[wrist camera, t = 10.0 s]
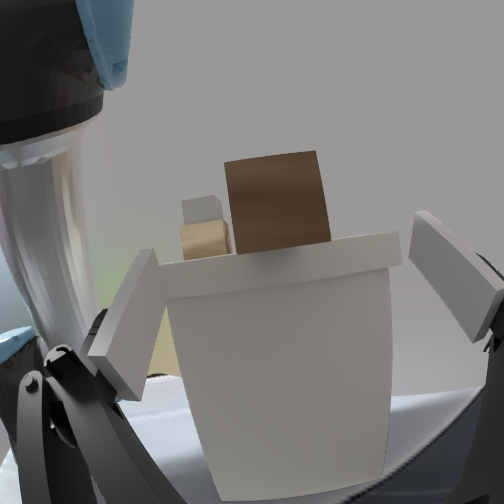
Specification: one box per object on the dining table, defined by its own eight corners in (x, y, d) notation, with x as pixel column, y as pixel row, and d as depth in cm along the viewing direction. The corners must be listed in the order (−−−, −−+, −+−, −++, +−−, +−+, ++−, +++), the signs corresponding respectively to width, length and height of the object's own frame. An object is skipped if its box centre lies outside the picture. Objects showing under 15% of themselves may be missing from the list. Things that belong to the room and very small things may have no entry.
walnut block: (331, 241, 12) (315, 150, 12) (236, 255, 12) (224, 162, 12) (283, 246, 40) (279, 217, 40) (255, 250, 40) (251, 221, 40)
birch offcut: (226, 254, 32) (221, 219, 32) (184, 260, 32) (179, 226, 32) (232, 253, 38) (228, 223, 38) (196, 258, 38) (192, 229, 38)
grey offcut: (218, 220, 32) (214, 195, 32) (184, 226, 33) (181, 201, 33) (224, 224, 37) (221, 201, 37) (194, 228, 38) (191, 206, 38)
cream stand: (390, 479, 23) (398, 230, 22) (212, 506, 23) (145, 266, 23) (355, 413, 40) (343, 237, 40) (228, 431, 41) (194, 259, 41)
